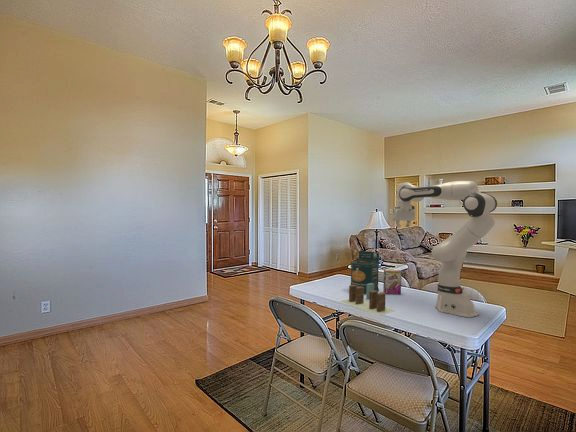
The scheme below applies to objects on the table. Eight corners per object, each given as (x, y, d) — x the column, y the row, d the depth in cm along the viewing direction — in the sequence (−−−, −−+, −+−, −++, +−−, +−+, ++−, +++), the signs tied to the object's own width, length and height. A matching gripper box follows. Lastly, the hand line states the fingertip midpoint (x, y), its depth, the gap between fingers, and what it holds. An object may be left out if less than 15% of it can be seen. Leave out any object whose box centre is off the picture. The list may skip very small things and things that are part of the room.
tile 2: (377, 307, 181) (377, 291, 181) (371, 309, 178) (372, 292, 178) (375, 307, 182) (375, 290, 182) (369, 308, 180) (369, 291, 180)
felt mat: (396, 311, 176) (396, 310, 176) (378, 316, 168) (378, 315, 168) (356, 298, 202) (356, 297, 202) (339, 301, 194) (339, 301, 194)
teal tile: (373, 298, 201) (374, 283, 201) (368, 300, 198) (368, 284, 198) (371, 298, 203) (371, 283, 203) (366, 299, 200) (366, 284, 200)
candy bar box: (384, 294, 213) (384, 270, 213) (383, 292, 218) (383, 269, 218) (401, 294, 212) (401, 271, 212) (399, 292, 217) (399, 269, 217)
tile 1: (385, 310, 176) (385, 293, 176) (379, 311, 173) (379, 294, 173) (382, 309, 178) (382, 292, 178) (376, 311, 175) (376, 293, 175)
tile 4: (363, 303, 190) (363, 287, 190) (357, 304, 187) (358, 288, 187) (361, 302, 192) (361, 286, 192) (355, 303, 189) (355, 287, 189)
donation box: (378, 291, 219) (379, 252, 219) (367, 296, 208) (368, 254, 207) (358, 287, 230) (358, 250, 230) (347, 291, 218) (347, 252, 218)
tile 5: (357, 300, 195) (357, 285, 194) (351, 302, 192) (351, 286, 192) (354, 300, 196) (354, 284, 196) (349, 301, 193) (349, 285, 193)
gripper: (397, 206, 198) (397, 227, 198) (416, 206, 209) (416, 227, 209) (389, 206, 203) (389, 227, 203) (408, 207, 214) (408, 226, 214)
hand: (403, 227), depth 206 cm, fingers open, 8 cm apart
